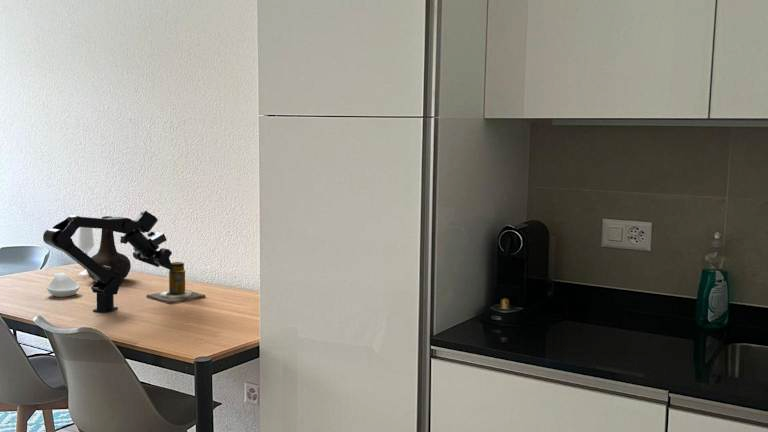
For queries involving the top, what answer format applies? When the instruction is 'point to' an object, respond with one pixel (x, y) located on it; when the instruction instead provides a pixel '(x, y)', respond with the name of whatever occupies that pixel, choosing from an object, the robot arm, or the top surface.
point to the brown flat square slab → (175, 297)
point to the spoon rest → (62, 286)
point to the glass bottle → (111, 255)
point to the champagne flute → (85, 242)
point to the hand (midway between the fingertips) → (165, 267)
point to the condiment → (177, 280)
